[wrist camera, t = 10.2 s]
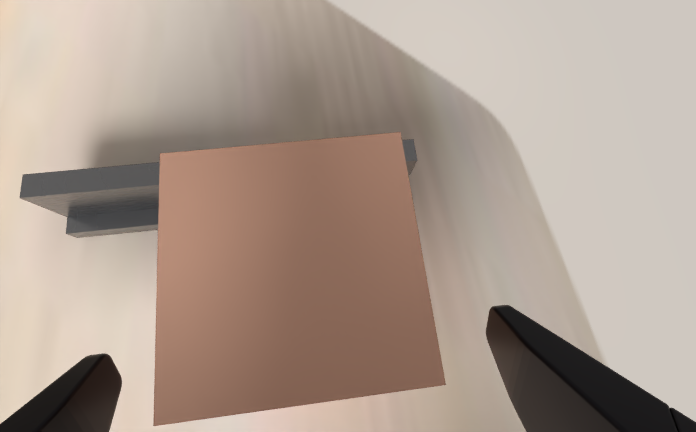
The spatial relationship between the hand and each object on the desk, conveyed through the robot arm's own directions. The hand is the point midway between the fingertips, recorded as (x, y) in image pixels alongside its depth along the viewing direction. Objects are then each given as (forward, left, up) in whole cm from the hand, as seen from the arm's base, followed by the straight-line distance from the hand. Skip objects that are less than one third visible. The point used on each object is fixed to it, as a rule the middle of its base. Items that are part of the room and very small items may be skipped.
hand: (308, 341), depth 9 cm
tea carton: (+2, -1, -8) cm, 9 cm away
